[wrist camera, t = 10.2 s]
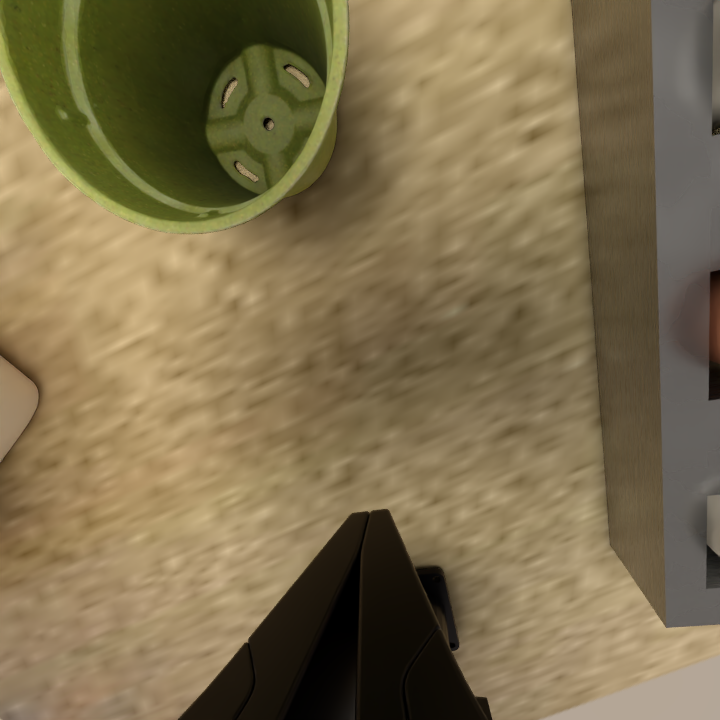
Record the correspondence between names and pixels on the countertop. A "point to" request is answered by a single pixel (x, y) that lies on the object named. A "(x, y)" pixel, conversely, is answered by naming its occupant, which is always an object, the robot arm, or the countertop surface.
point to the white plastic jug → (14, 404)
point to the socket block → (654, 286)
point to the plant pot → (178, 100)
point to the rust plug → (714, 317)
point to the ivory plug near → (716, 66)
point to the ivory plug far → (713, 523)
